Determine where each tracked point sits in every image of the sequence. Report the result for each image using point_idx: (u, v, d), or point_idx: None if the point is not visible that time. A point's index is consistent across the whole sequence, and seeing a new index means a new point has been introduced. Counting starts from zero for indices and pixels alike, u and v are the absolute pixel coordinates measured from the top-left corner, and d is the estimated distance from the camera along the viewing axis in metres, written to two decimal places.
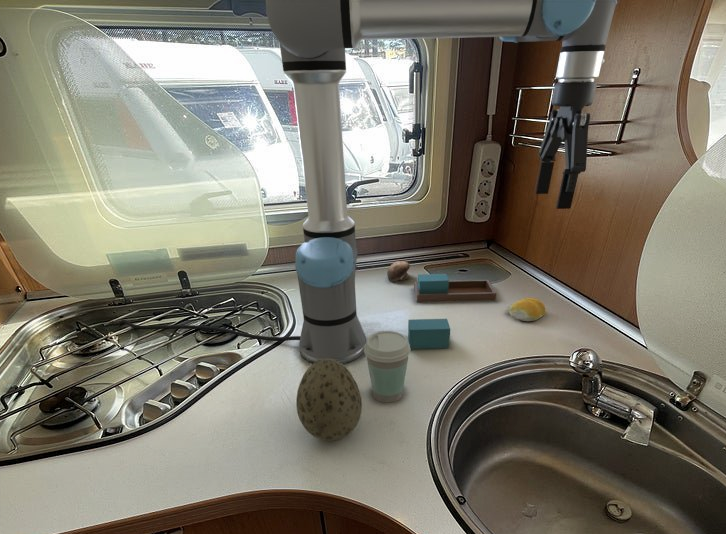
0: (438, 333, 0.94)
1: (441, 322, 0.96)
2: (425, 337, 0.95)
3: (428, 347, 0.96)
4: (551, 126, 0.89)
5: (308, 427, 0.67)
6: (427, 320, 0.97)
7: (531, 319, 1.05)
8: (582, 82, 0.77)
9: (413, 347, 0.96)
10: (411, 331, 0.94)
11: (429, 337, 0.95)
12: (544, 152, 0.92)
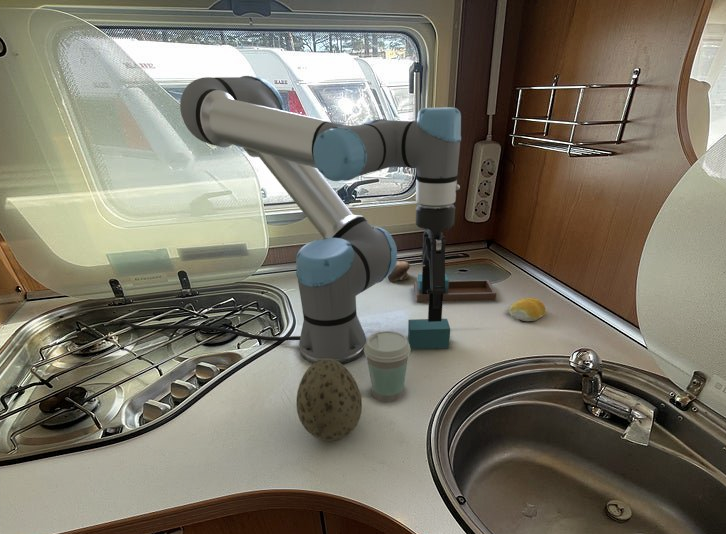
0: (438, 333, 0.94)
1: (441, 322, 0.96)
2: (425, 337, 0.95)
3: (428, 347, 0.96)
4: None
5: (308, 427, 0.67)
6: (427, 320, 0.97)
7: (531, 319, 1.05)
8: (437, 209, 0.78)
9: (413, 347, 0.96)
10: (411, 331, 0.94)
11: (429, 337, 0.95)
12: (423, 258, 0.93)
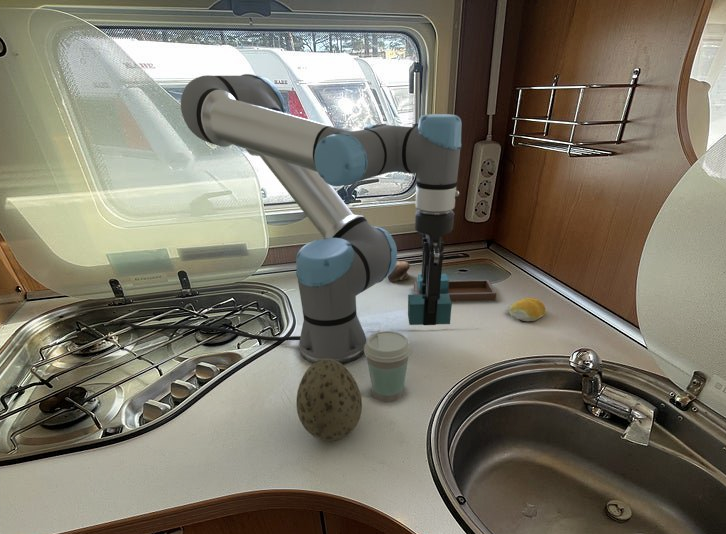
0: (439, 309, 0.91)
1: (442, 297, 0.93)
2: None
3: None
4: None
5: (308, 427, 0.67)
6: None
7: (531, 319, 1.05)
8: (436, 215, 0.78)
9: (413, 323, 0.93)
10: (411, 306, 0.90)
11: None
12: (423, 275, 0.92)
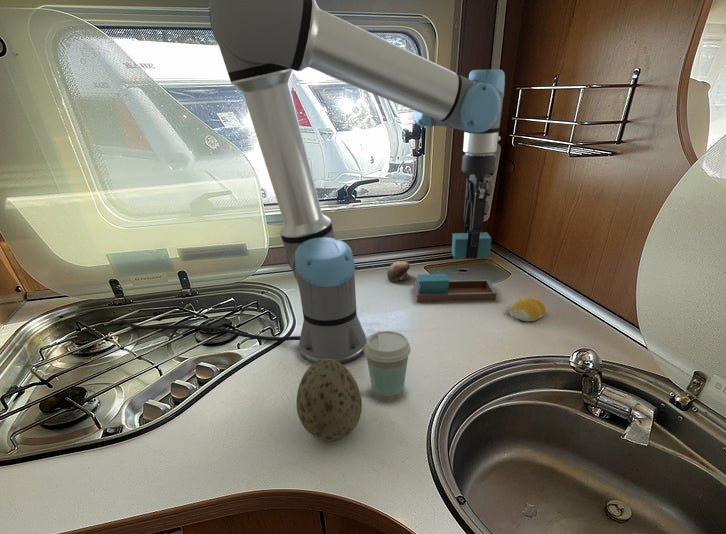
0: (480, 243, 1.06)
1: (482, 234, 1.08)
2: None
3: None
4: None
5: (308, 427, 0.67)
6: None
7: (531, 319, 1.05)
8: (481, 156, 0.94)
9: (458, 257, 1.08)
10: (456, 241, 1.05)
11: None
12: (465, 215, 1.07)
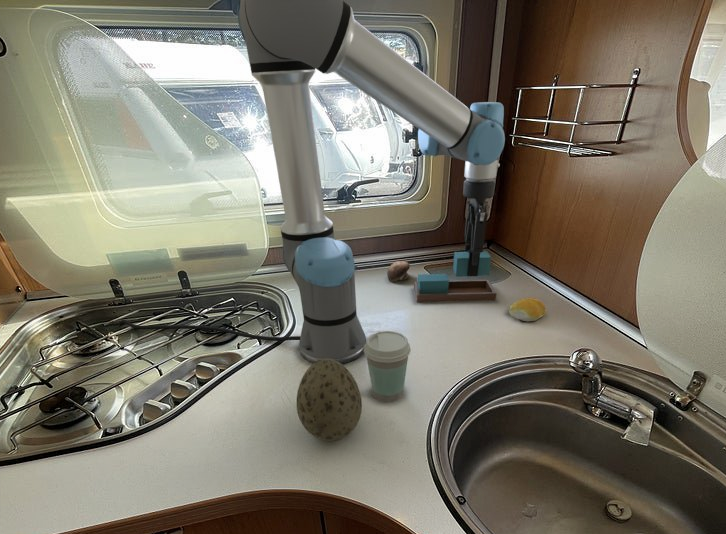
0: (481, 262, 1.11)
1: (482, 253, 1.13)
2: None
3: None
4: None
5: (308, 427, 0.67)
6: None
7: (531, 319, 1.05)
8: (482, 182, 0.99)
9: (459, 275, 1.13)
10: (458, 259, 1.11)
11: None
12: (466, 235, 1.13)
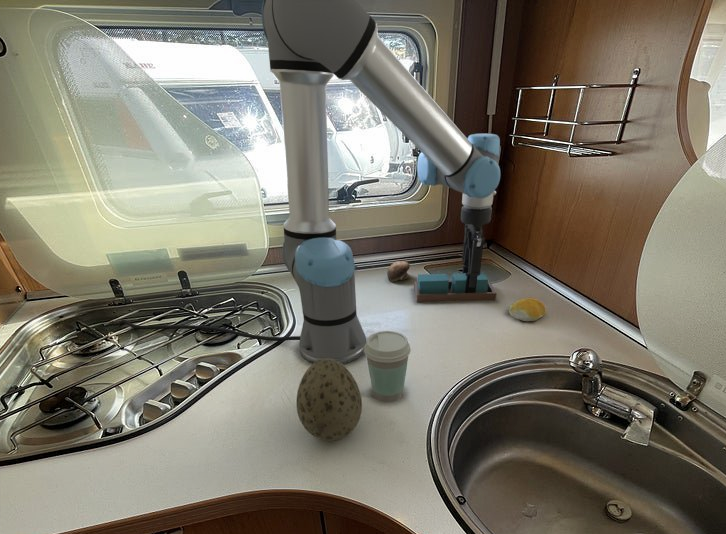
0: (478, 283, 1.15)
1: None
2: None
3: None
4: (466, 236, 1.15)
5: (308, 427, 0.67)
6: None
7: (531, 319, 1.05)
8: (479, 209, 1.03)
9: None
10: (456, 281, 1.15)
11: None
12: (464, 257, 1.17)
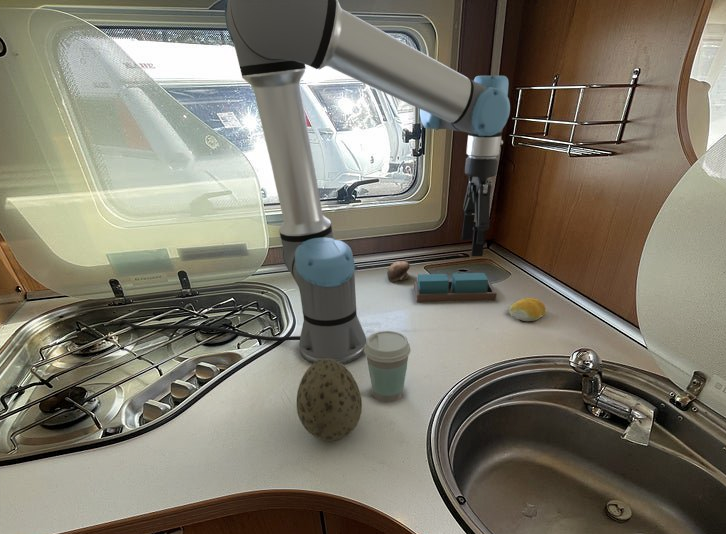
0: (478, 284, 1.15)
1: (479, 275, 1.17)
2: (467, 286, 1.16)
3: None
4: None
5: (308, 427, 0.67)
6: (468, 274, 1.18)
7: (531, 319, 1.05)
8: (484, 159, 0.96)
9: None
10: (456, 281, 1.15)
11: (471, 286, 1.16)
12: (466, 207, 1.12)
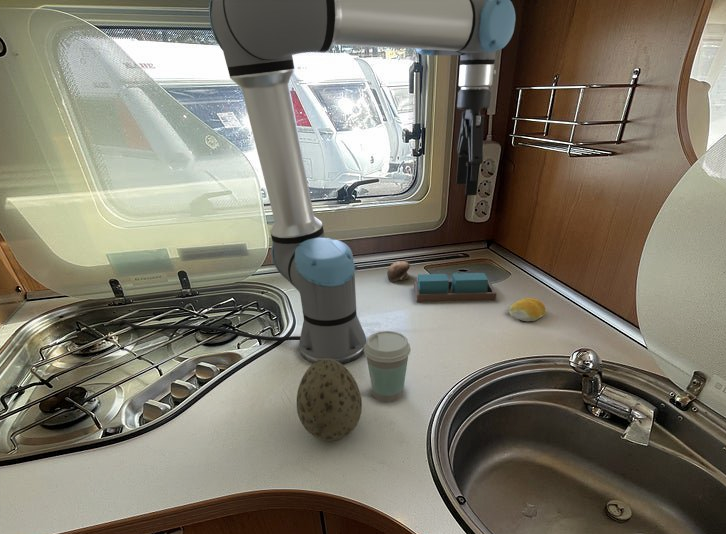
0: (478, 284, 1.15)
1: (479, 275, 1.17)
2: (467, 286, 1.16)
3: None
4: None
5: (308, 427, 0.67)
6: (468, 274, 1.18)
7: (531, 319, 1.05)
8: (477, 89, 0.94)
9: None
10: (456, 281, 1.15)
11: (471, 286, 1.16)
12: (459, 148, 1.09)
